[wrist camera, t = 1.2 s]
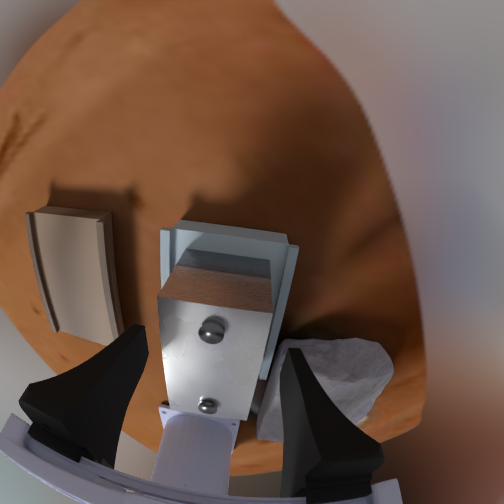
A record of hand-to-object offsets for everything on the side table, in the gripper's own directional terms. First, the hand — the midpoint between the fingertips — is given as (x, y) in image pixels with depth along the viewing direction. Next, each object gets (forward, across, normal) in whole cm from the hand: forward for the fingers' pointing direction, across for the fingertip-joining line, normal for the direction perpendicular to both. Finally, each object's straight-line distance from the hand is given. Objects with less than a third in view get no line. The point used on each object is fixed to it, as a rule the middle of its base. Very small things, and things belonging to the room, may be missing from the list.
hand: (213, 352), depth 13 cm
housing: (+3, 0, 0) cm, 3 cm away
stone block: (+5, -9, +8) cm, 13 cm away
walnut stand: (+5, +10, 0) cm, 12 cm away
